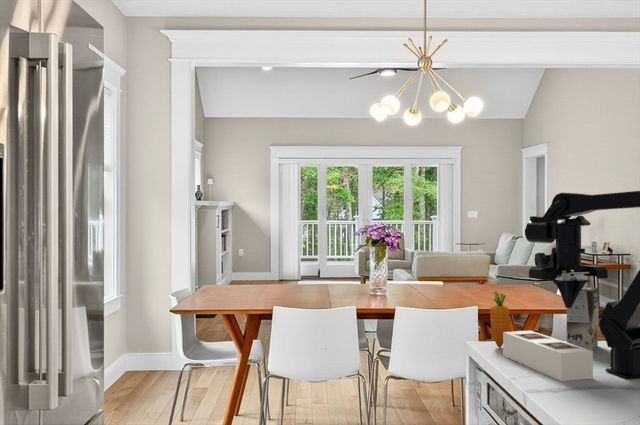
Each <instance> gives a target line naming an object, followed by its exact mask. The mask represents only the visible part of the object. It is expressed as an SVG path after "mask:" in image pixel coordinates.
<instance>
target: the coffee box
mask: <svg viewBox="0 0 640 425" xmlns="http://www.w3.org/2000/svg"><path fill="white" fill-rule="evenodd" d="M598 316H599V287H595V286H594V287H593V286H583V288H582V289H581V291H580V292H579V294H578V296H577V298H576V300H575V302H574V304H573V305H572V307H571V308H566V342H567V343H570V344H573V345H576V346H579V347H582V348H585V349H588V350H591V351H593V352H594V350H595V349H596V348H598V346H599V317H598Z"/></svg>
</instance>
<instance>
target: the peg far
mask: <svg viewBox="0 0 640 425" xmlns="http://www.w3.org/2000/svg"><path fill="white" fill-rule="evenodd" d="M524 337H526V338H528V339H534V338H540V337H539V336H537V335H524Z"/></svg>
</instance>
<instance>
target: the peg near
mask: <svg viewBox="0 0 640 425" xmlns="http://www.w3.org/2000/svg"><path fill="white" fill-rule="evenodd" d="M550 346H551V347H554V348H557V349H558V348H568V346H567V345H563V344H550Z"/></svg>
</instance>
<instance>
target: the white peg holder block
mask: <svg viewBox="0 0 640 425" xmlns="http://www.w3.org/2000/svg"><path fill="white" fill-rule="evenodd" d="M524 335H537V336H539V337H540V338H534V339H528V338H526V337H524ZM550 344H563V345H567V346H568V348H558V349H557V348H554V347H551V346H550ZM502 349H503V350H502V356H503V357H505V358H507V359H509V358H510V360H512V361H514V362H516V361H517V363H518V362H519V364H521V365H523V364H524V365H523V366H525V367H528V368H531V369H533V370H534V371H537V372H539V373H542V374H543V375H546V376H549V377H550V378H552V379H555V380H558V381H560V382H568V381H569V382H570V381H577V380H578V381H579V380H581V381H582V380H592V379H594V350H593V351H591V350H588V349H585V348H582V347H579V346H576V345H573V344H570V343H567V341H563V340H560V339H559V338H555V337H552V336H548V335H545V334H542V333H539V332H535V331H534V330H518V331H517V330H516V331H507V332H503V345H502Z"/></svg>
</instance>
